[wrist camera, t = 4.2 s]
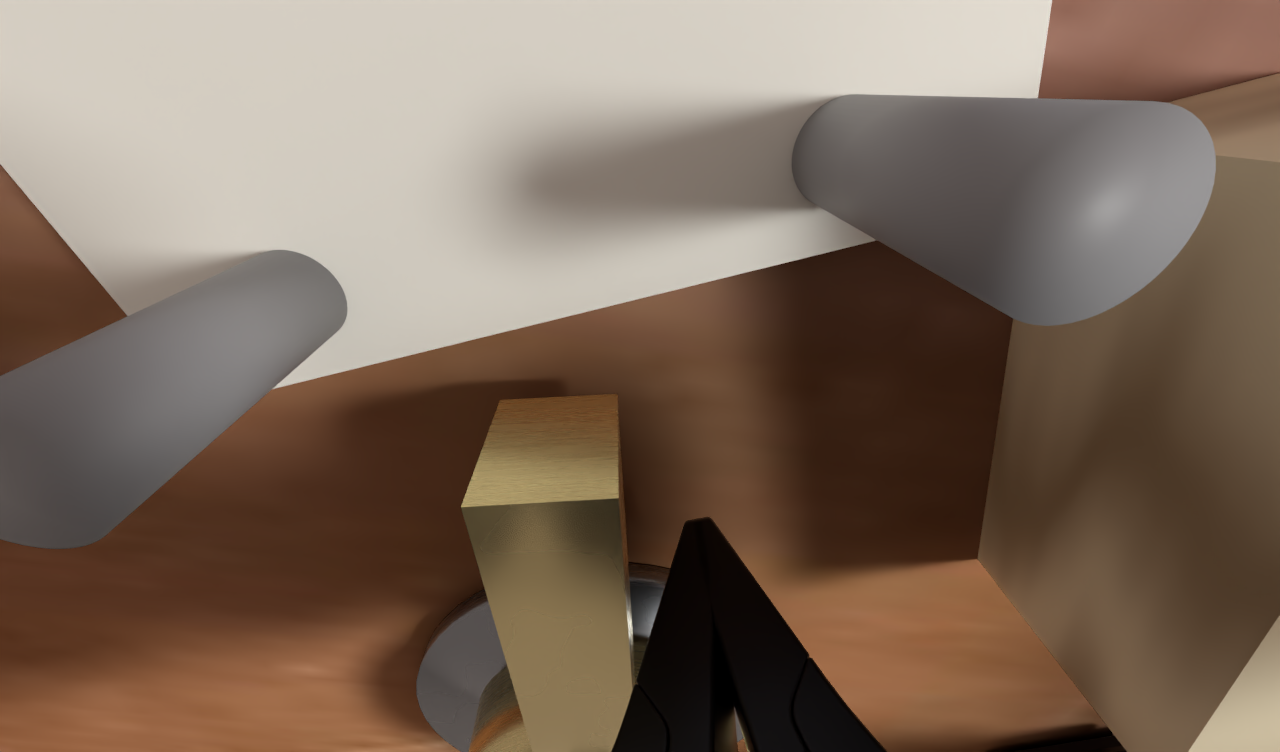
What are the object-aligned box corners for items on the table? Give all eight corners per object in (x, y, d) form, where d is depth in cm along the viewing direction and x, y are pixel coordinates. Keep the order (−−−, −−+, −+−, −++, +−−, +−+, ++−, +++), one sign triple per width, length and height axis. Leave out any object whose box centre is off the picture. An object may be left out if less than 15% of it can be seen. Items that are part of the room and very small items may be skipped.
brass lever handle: (715, 760, 15) (734, 885, 13) (501, 775, 15) (480, 905, 13) (750, 387, 9) (804, 504, 6) (363, 407, 8) (261, 536, 6)
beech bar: (1117, 525, 12) (1386, 759, 8) (973, 554, 13) (1159, 794, 8) (1272, 71, 7) (2186, 46, 3) (1032, 134, 8) (1564, 193, 3)
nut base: (787, 731, 17) (793, 752, 16) (503, 780, 17) (499, 801, 17) (750, 525, 12) (756, 546, 11) (353, 607, 12) (341, 630, 12)
